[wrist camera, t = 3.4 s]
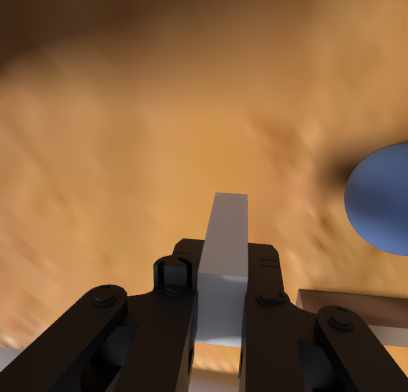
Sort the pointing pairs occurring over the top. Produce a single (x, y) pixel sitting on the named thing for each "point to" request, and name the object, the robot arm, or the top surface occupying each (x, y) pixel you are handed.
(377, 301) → the lane bumper
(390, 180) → the ball
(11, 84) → the top surface
